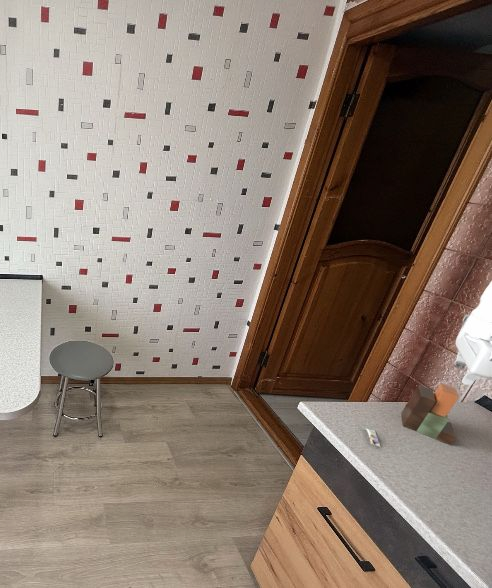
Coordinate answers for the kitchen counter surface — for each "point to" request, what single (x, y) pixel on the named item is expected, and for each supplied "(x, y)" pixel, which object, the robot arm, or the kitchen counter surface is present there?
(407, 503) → the kitchen counter surface
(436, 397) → the matte orange cuboid
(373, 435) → the granola bar
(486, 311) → the robot arm
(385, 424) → the kitchen counter surface
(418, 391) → the step rack
